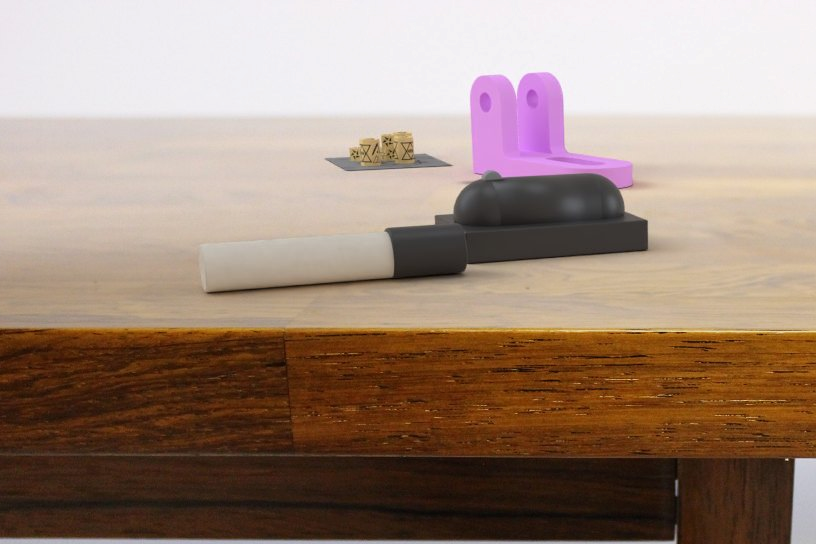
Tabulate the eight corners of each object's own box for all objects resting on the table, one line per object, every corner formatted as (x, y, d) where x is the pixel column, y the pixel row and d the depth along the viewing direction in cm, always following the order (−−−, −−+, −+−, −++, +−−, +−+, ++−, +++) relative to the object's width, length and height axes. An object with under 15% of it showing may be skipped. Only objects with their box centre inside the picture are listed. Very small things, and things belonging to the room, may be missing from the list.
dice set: (410, 156, 117) (409, 131, 117) (427, 163, 113) (426, 137, 112) (346, 158, 115) (344, 133, 115) (361, 166, 111) (359, 140, 110)
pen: (207, 303, 68) (204, 259, 66) (198, 273, 70) (196, 229, 68) (466, 281, 73) (469, 240, 71) (453, 254, 74) (456, 213, 73)
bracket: (473, 172, 108) (468, 74, 106) (534, 166, 112) (531, 70, 110) (587, 191, 100) (584, 85, 97) (649, 184, 103) (648, 81, 101)
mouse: (466, 263, 75) (462, 180, 74) (435, 244, 80) (431, 165, 79) (648, 249, 79) (647, 170, 78) (608, 232, 84) (606, 157, 83)
